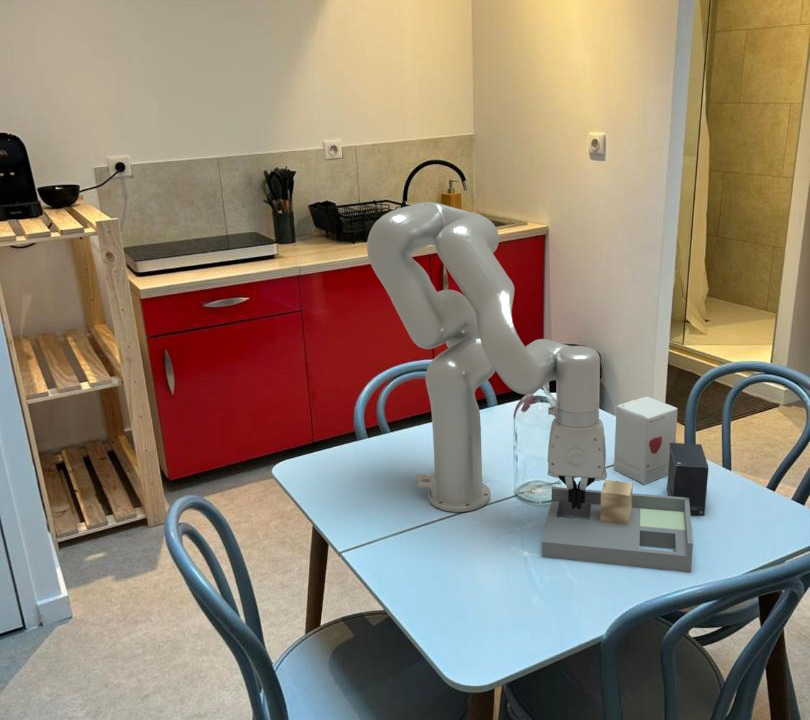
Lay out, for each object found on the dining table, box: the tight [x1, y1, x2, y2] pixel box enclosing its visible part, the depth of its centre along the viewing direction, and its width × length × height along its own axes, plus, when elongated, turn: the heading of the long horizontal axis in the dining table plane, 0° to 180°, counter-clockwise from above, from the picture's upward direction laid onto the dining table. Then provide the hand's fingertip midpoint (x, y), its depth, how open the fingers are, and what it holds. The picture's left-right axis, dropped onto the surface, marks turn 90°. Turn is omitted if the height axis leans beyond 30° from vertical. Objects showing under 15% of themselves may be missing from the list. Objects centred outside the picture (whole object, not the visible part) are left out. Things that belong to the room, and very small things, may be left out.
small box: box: [666, 442, 709, 516], centre depth 159 cm, size 11×6×10 cm, turn 168°
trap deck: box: [541, 486, 694, 573], centre depth 148 cm, size 25×16×6 cm, turn 74°
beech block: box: [600, 479, 634, 525], centre depth 150 cm, size 5×5×6 cm
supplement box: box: [613, 395, 678, 485], centre depth 171 cm, size 9×9×15 cm
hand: (576, 505), depth 154 cm, fingers closed
